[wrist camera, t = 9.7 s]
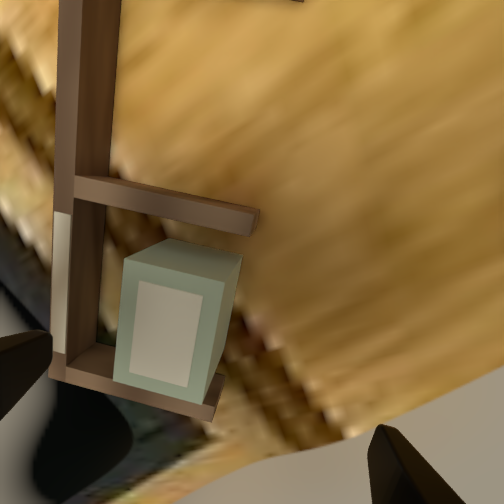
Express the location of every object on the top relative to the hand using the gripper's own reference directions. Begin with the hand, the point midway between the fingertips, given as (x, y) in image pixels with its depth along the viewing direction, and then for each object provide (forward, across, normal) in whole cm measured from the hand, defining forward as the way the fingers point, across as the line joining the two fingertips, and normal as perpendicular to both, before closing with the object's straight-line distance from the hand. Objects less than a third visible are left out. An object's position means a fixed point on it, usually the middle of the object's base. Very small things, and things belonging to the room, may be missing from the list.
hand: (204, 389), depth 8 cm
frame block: (+12, +4, +3) cm, 12 cm away
